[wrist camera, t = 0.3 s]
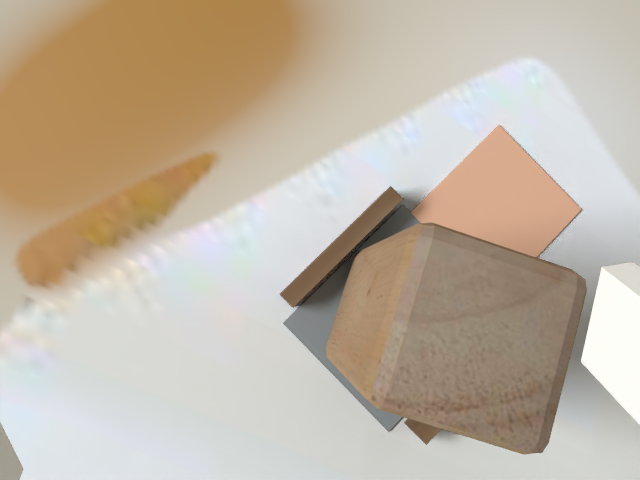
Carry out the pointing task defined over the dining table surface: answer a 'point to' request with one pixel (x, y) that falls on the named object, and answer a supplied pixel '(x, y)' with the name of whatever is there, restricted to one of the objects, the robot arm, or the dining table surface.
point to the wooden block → (459, 334)
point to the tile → (500, 198)
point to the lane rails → (335, 255)
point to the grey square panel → (322, 306)
